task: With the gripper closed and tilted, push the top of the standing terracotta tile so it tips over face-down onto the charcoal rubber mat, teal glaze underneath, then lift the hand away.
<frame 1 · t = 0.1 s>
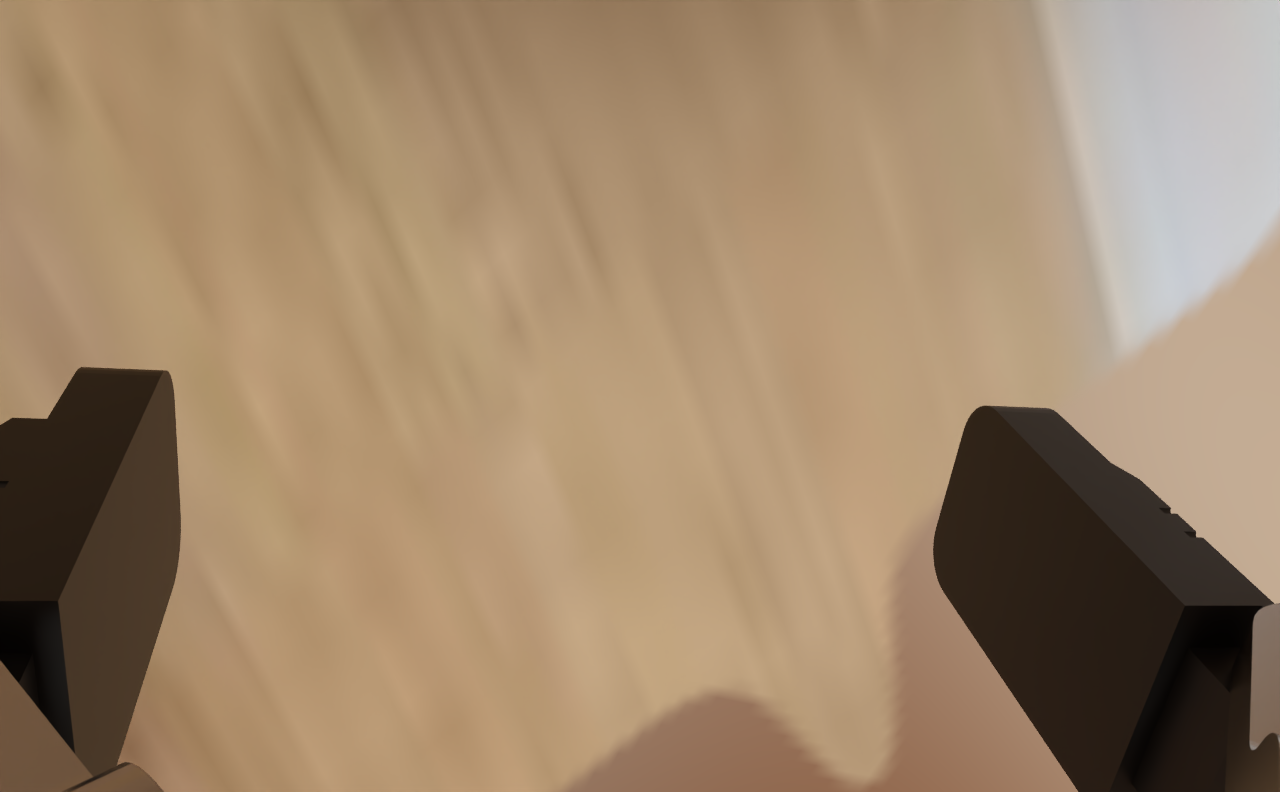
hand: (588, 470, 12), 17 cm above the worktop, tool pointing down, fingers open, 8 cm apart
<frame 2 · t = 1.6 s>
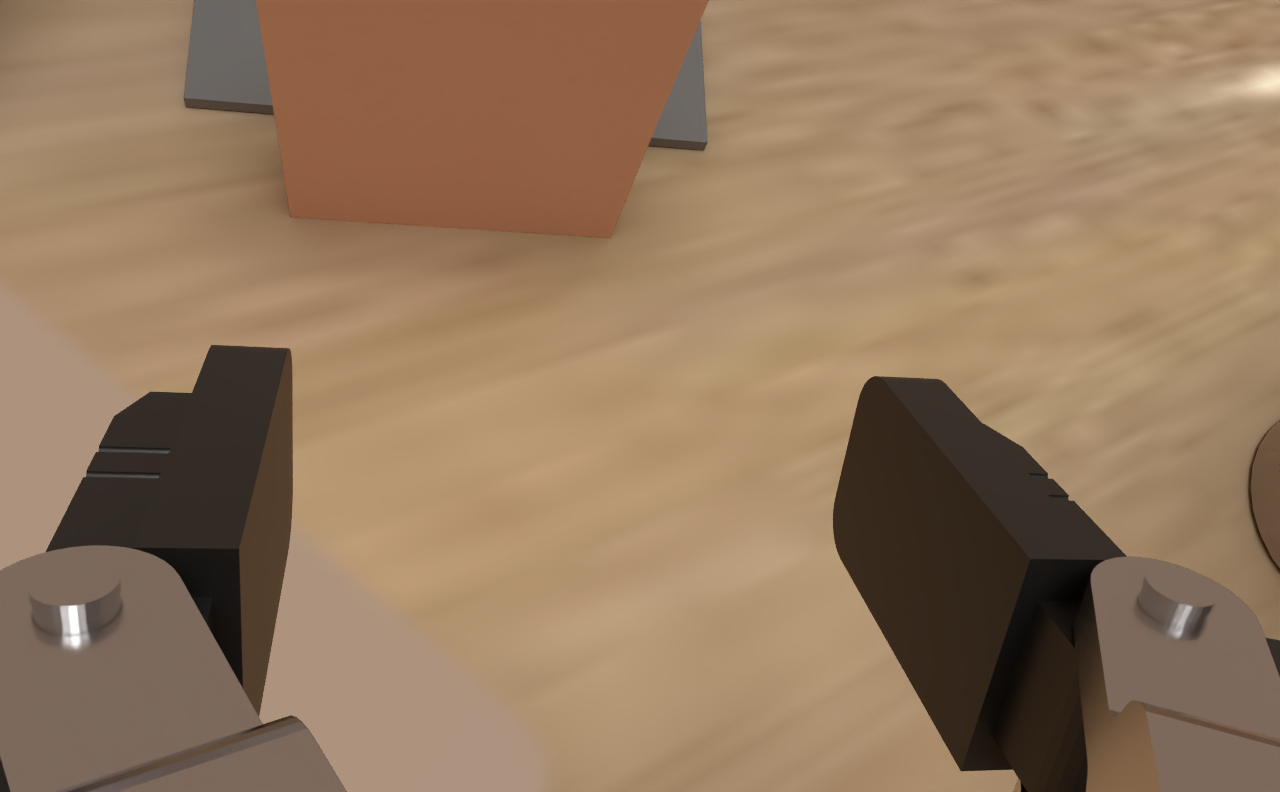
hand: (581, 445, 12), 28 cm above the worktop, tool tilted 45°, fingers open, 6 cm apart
tile: (455, 192, 44), on the worktop
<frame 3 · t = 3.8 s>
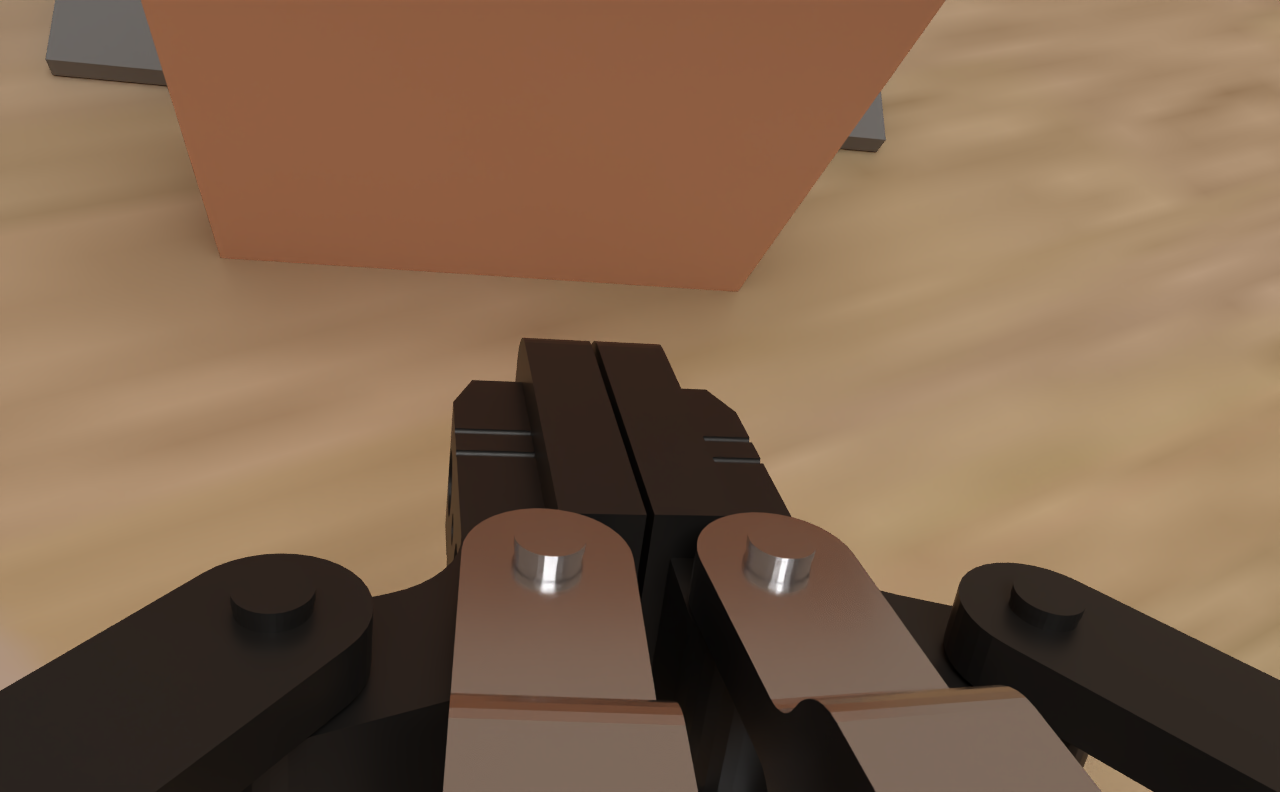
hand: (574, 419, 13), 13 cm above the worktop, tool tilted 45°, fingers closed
tile: (492, 217, 27), on the worktop
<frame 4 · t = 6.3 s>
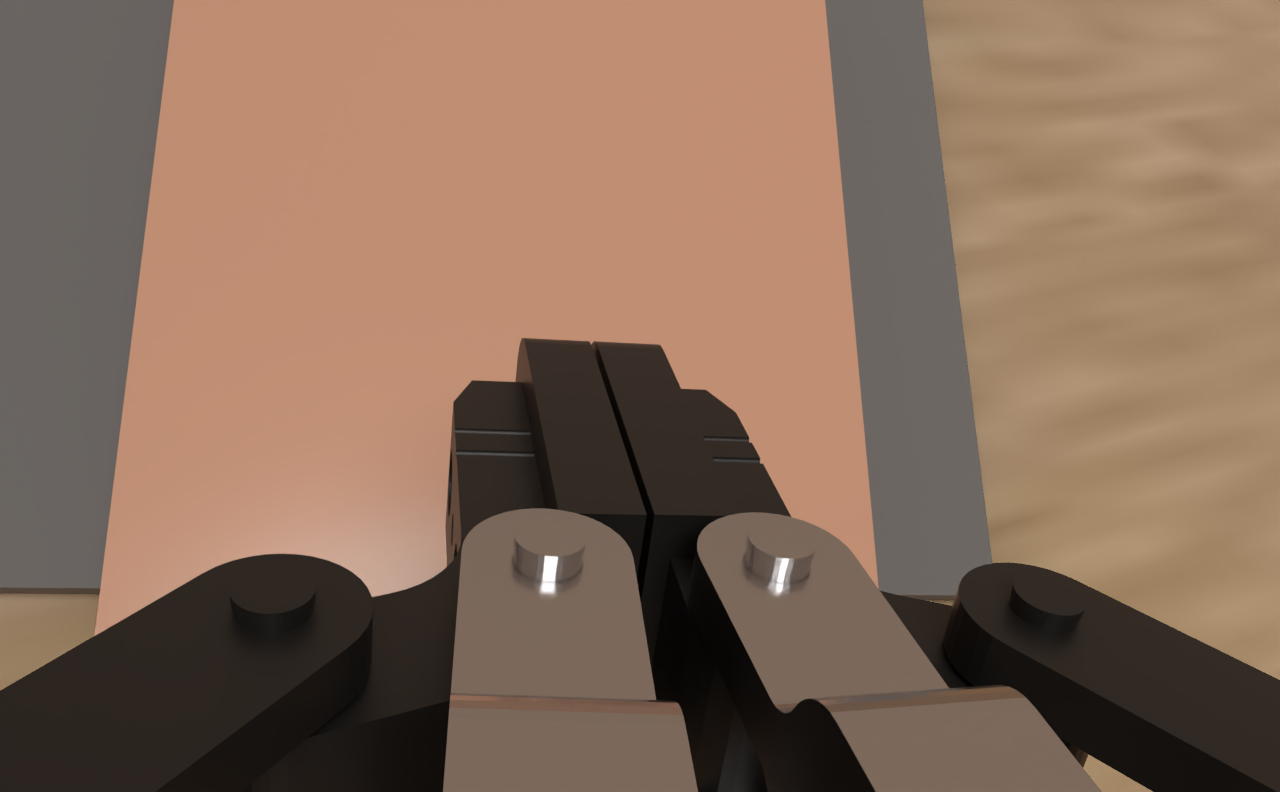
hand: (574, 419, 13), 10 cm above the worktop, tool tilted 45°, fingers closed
tile: (506, 652, 19), point 2 cm above the worktop, tilted 90°, touching mat
mat: (500, 161, 24), on the worktop
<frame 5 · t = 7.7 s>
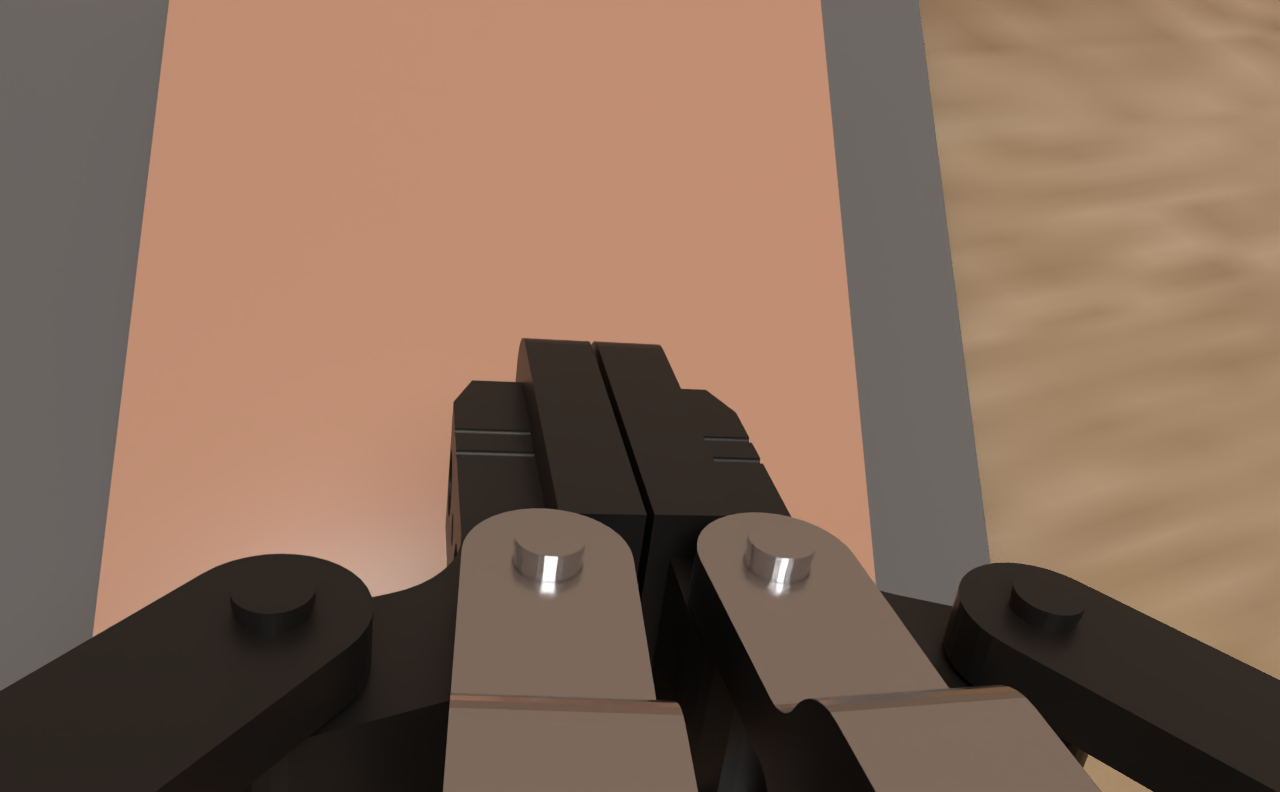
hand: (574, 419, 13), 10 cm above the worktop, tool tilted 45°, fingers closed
mat: (495, 267, 24), on the worktop
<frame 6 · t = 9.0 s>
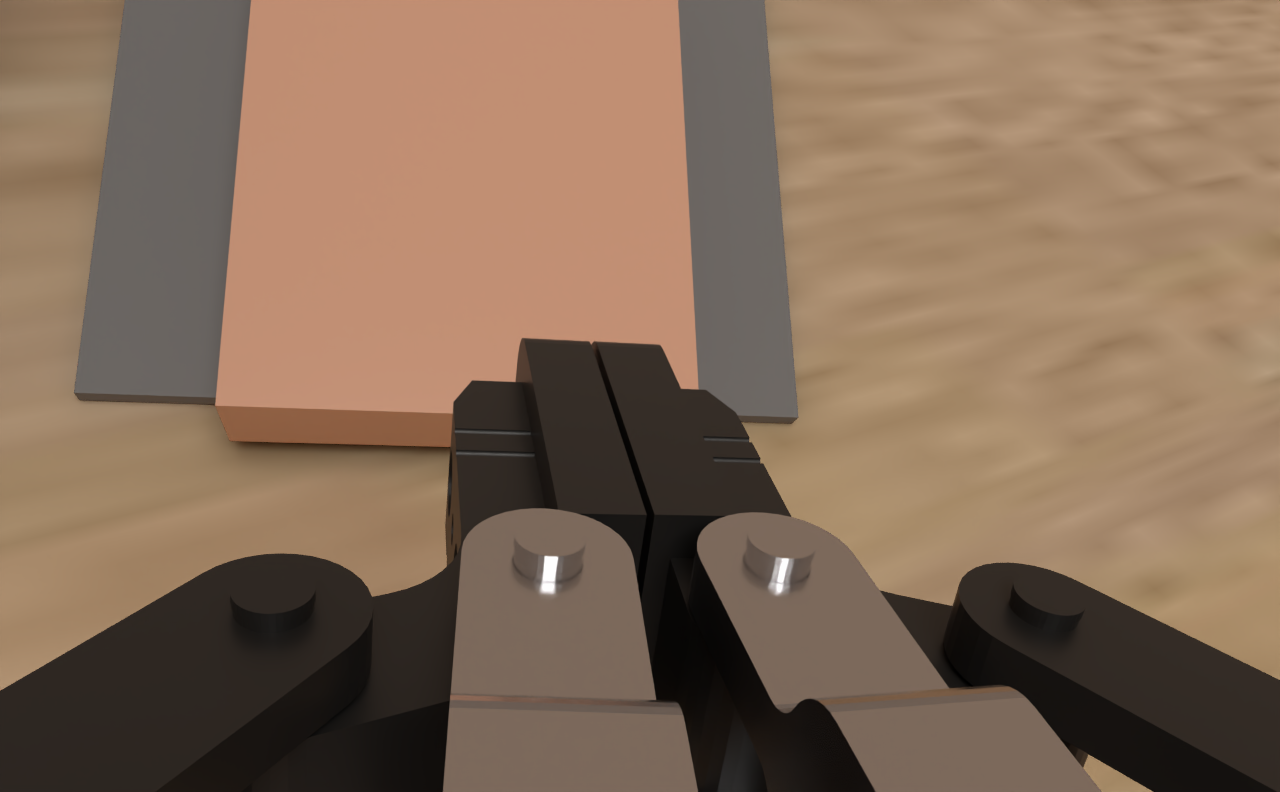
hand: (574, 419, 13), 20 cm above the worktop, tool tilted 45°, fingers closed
tile: (464, 431, 30), point 2 cm above the worktop, tilted 90°, touching mat
mat: (463, 128, 36), on the worktop
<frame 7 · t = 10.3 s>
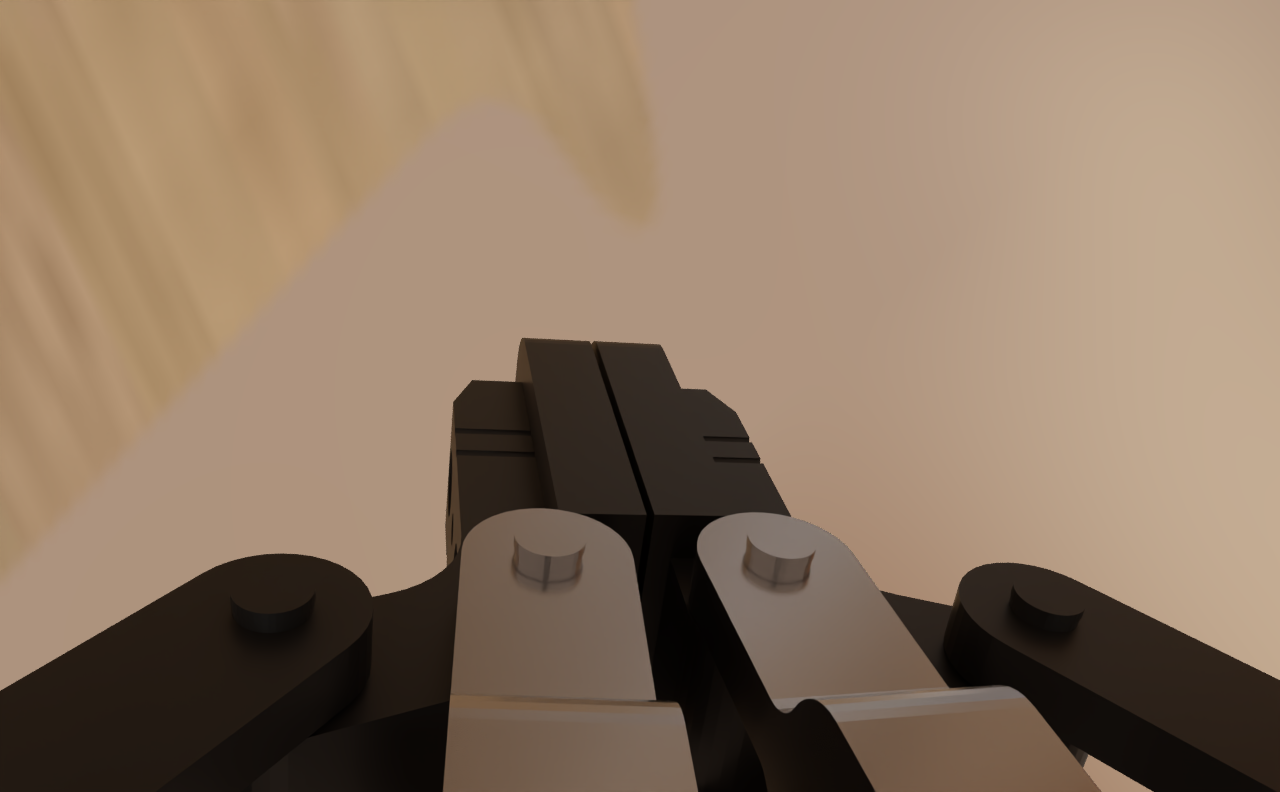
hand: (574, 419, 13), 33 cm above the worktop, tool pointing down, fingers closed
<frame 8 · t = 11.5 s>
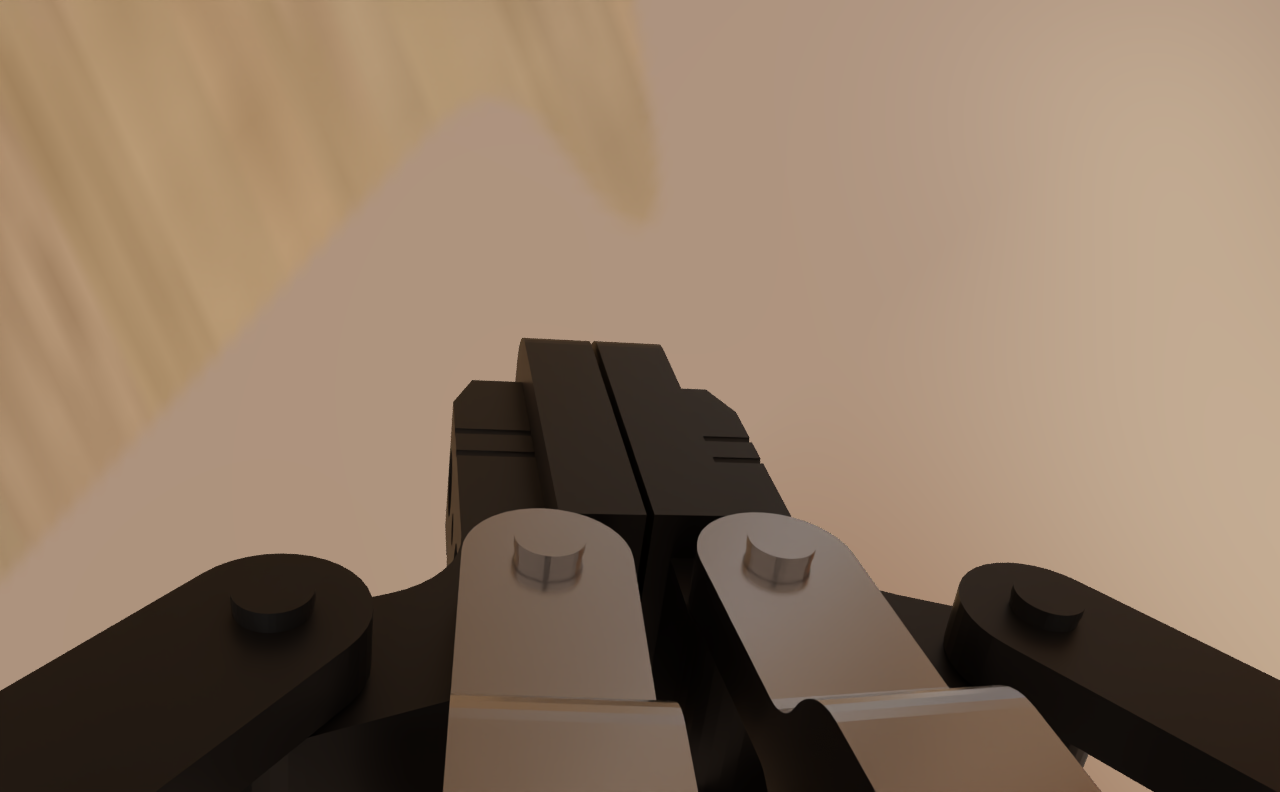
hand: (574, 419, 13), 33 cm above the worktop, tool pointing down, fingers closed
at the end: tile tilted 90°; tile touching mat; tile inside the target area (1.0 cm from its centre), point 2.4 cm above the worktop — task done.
